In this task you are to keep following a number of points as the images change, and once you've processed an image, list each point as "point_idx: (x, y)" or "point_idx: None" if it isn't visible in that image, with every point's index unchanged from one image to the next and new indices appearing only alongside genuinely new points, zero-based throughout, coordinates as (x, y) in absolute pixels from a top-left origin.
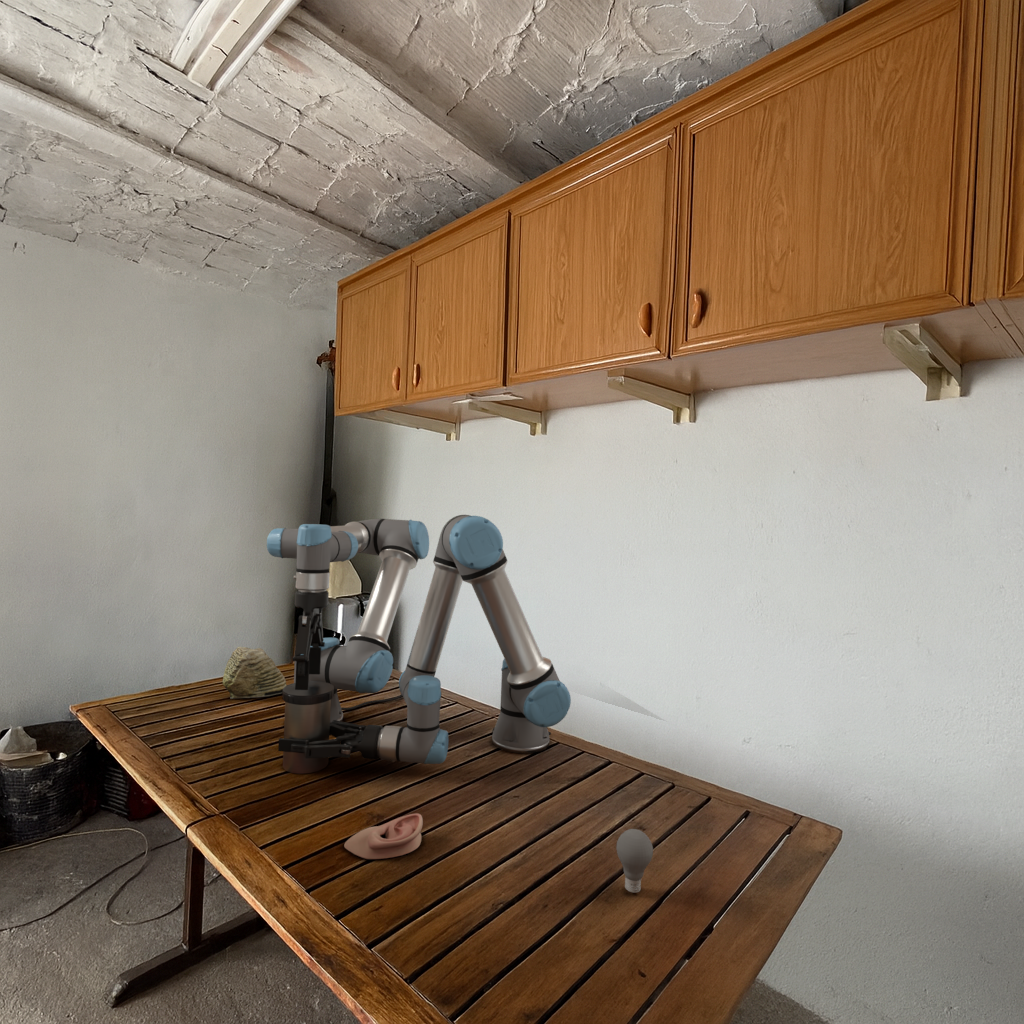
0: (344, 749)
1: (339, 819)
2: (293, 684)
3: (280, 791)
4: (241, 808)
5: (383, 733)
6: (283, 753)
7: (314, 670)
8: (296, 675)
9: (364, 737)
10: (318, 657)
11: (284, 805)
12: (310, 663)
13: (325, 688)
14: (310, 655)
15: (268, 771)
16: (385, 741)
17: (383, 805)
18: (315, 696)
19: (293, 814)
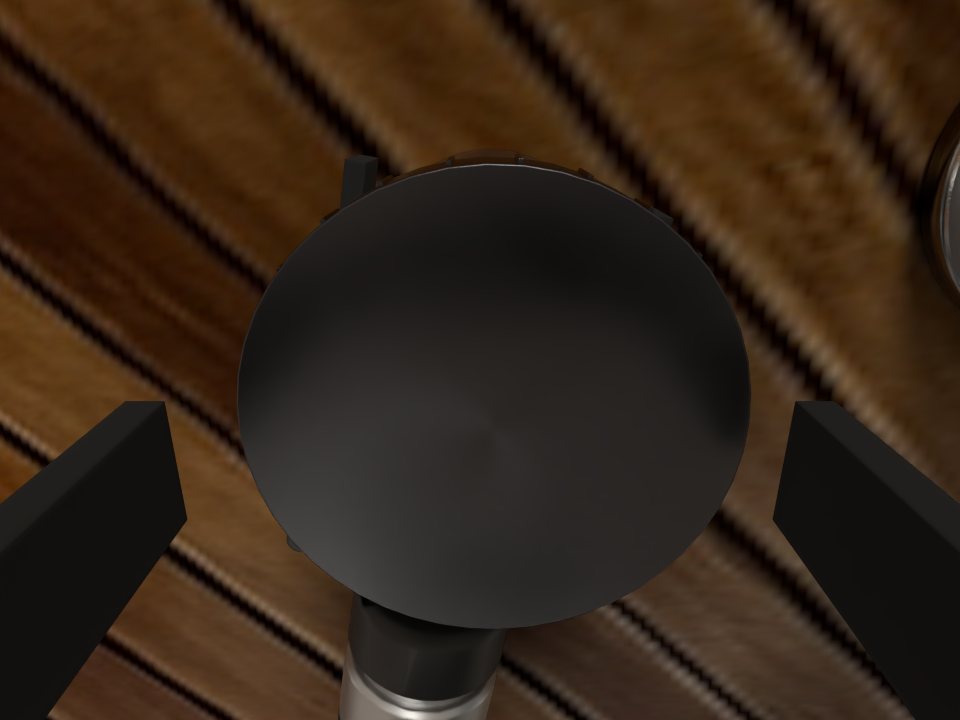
0: None
1: (27, 475)
2: (628, 246)
3: (201, 212)
4: (16, 83)
5: (365, 706)
6: (445, 161)
7: (803, 495)
8: (12, 504)
9: (362, 615)
10: (899, 665)
11: (83, 262)
12: (866, 498)
13: (488, 570)
14: (954, 578)
15: (404, 93)
16: (346, 690)
17: (154, 591)
18: (284, 518)
19: (21, 315)
